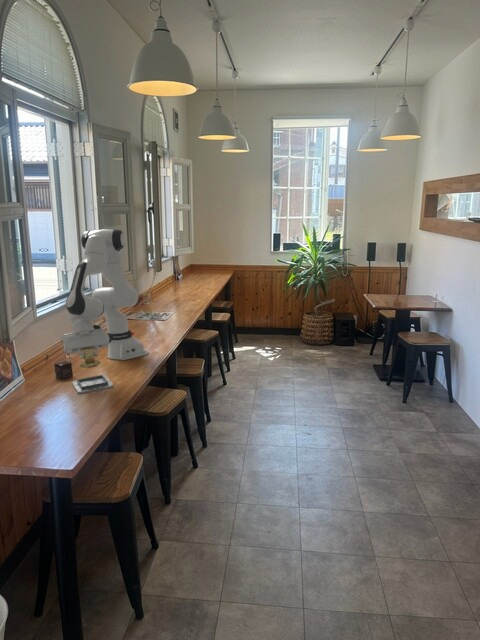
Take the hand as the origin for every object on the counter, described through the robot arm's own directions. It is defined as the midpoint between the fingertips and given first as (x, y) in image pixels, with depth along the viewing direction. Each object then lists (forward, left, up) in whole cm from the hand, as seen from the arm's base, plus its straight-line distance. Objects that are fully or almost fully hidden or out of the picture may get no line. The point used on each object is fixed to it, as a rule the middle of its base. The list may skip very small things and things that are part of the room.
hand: (89, 356), depth 223 cm
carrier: (0, -1, -14) cm, 14 cm away
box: (+9, -21, -14) cm, 27 cm away
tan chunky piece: (0, -1, -4) cm, 4 cm away
